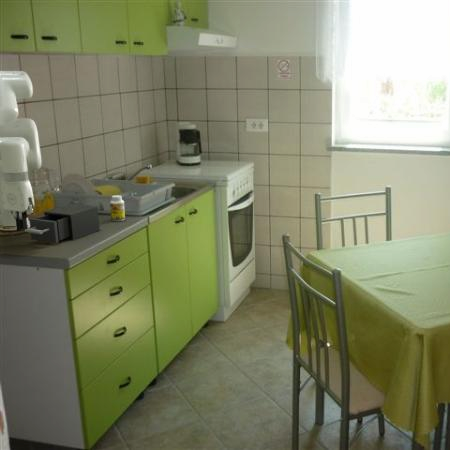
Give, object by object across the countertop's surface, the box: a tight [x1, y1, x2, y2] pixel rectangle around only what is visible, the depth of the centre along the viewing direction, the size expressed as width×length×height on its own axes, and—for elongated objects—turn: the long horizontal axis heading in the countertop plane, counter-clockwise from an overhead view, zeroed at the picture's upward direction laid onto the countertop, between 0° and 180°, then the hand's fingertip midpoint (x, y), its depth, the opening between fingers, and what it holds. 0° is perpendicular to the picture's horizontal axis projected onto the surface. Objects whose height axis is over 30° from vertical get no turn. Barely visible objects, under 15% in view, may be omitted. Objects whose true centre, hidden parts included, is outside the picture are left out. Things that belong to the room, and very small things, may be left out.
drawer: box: [24, 214, 71, 244], centre depth 214 cm, size 18×11×8 cm, turn 159°
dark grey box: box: [43, 203, 100, 241], centre depth 224 cm, size 15×13×10 cm
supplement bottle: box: [109, 194, 126, 222], centre depth 243 cm, size 6×6×10 cm
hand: (22, 229), depth 201 cm, fingers closed
